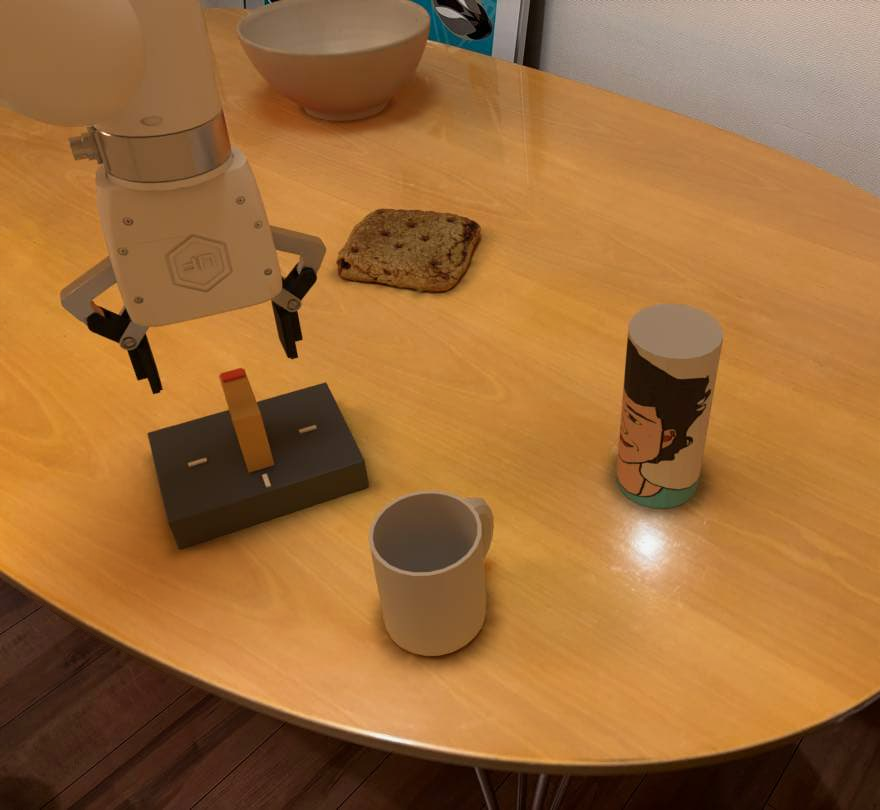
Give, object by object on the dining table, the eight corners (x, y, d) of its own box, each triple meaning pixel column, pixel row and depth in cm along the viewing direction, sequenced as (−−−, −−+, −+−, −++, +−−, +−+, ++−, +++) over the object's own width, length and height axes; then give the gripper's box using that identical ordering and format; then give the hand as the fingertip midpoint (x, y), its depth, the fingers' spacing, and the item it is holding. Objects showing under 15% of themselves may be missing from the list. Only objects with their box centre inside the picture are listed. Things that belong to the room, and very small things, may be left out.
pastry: (310, 243, 101) (305, 219, 99) (444, 204, 108) (442, 181, 106) (373, 316, 90) (369, 291, 88) (518, 268, 97) (517, 244, 95)
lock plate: (178, 549, 67) (167, 521, 65) (157, 458, 74) (146, 431, 72) (369, 486, 72) (364, 458, 70) (331, 407, 79) (325, 380, 77)
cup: (362, 625, 62) (344, 541, 56) (454, 536, 68) (446, 452, 62) (442, 678, 59) (431, 595, 53) (530, 580, 65) (529, 495, 59)
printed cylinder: (639, 440, 76) (654, 293, 66) (711, 469, 73) (738, 321, 64) (601, 487, 72) (611, 338, 62) (676, 520, 69) (699, 370, 59)
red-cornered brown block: (274, 465, 69) (259, 410, 66) (249, 473, 69) (232, 418, 65) (258, 419, 73) (243, 365, 70) (234, 426, 73) (217, 372, 69)
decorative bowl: (453, 76, 140) (448, -4, 133) (410, 148, 120) (401, 58, 112) (292, 67, 143) (278, -12, 135) (223, 136, 123) (202, 47, 115)
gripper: (11, 193, 49) (103, 428, 60) (320, 142, 55) (352, 363, 66) (7, 143, 54) (93, 367, 65) (290, 101, 60) (325, 312, 71)
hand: (223, 365), depth 65 cm, fingers open, 9 cm apart
